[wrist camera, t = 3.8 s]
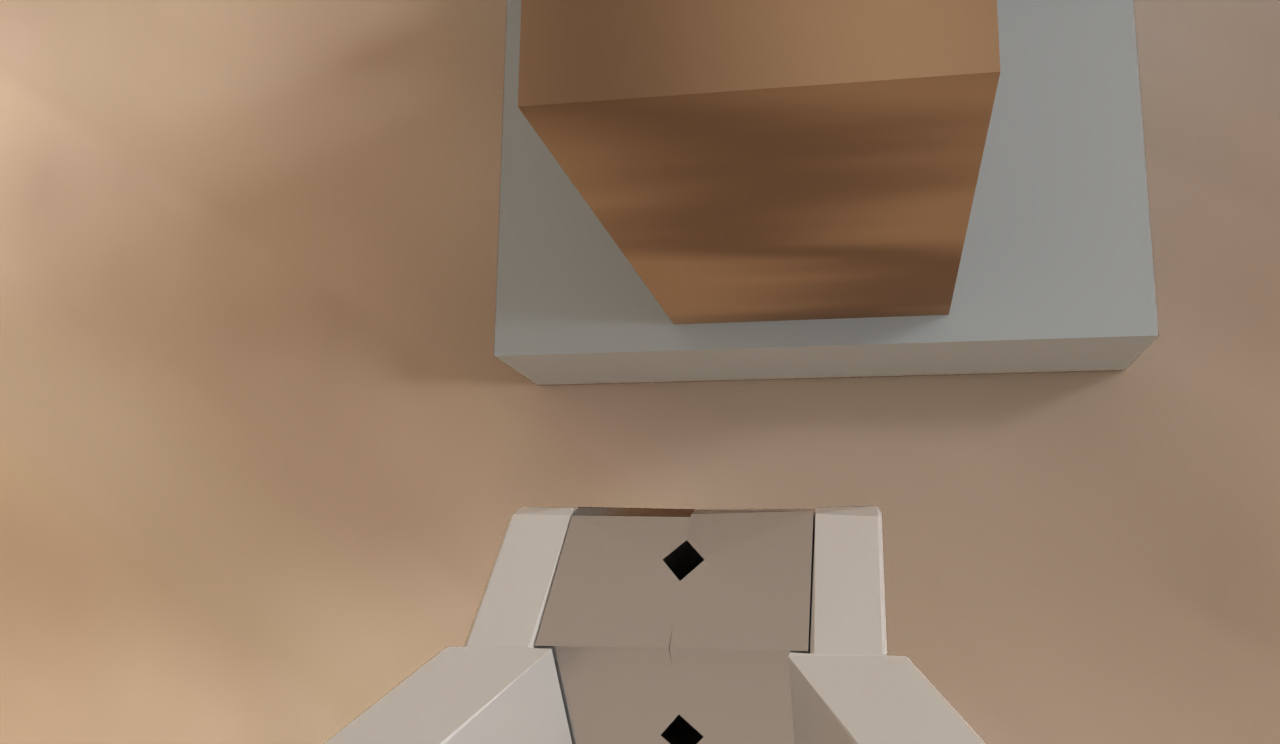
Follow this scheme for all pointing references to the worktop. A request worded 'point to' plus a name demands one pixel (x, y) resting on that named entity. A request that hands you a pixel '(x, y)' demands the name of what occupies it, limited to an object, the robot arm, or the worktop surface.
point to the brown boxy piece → (771, 145)
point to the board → (880, 346)
